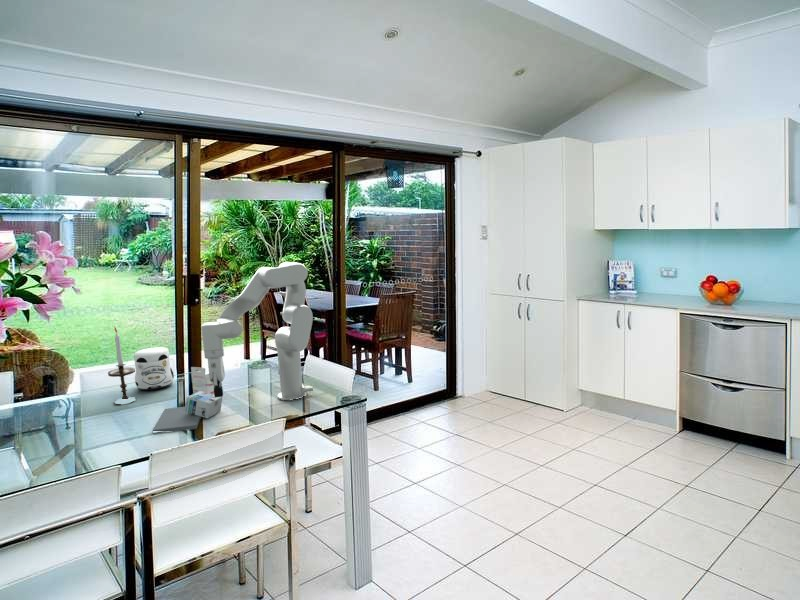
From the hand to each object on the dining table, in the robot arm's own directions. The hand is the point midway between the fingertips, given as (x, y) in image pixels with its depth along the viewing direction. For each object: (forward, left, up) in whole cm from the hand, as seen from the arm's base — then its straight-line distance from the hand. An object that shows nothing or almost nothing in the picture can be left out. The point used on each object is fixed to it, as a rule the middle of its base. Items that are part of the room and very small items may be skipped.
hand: (218, 396), depth 231 cm
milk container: (+36, -52, -9) cm, 64 cm away
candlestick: (+45, -33, -9) cm, 56 cm away
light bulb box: (+2, -1, -5) cm, 5 cm away
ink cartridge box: (+10, -27, -9) cm, 30 cm away
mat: (+16, 0, -8) cm, 18 cm away
